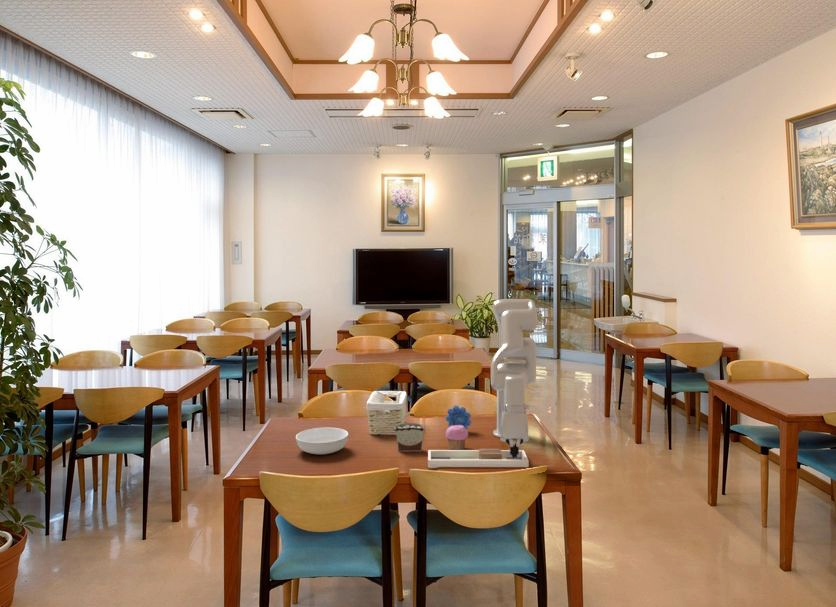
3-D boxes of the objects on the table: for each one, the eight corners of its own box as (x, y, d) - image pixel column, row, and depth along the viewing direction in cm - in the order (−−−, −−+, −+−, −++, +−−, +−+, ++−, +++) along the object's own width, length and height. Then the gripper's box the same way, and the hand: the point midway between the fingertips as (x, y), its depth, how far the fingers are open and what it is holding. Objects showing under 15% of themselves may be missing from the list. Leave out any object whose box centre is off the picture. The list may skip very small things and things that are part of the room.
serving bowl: (291, 446, 264) (291, 430, 263) (341, 441, 271) (341, 425, 271) (301, 462, 244) (300, 444, 244) (354, 455, 252) (354, 438, 251)
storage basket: (402, 436, 278) (402, 402, 276) (365, 435, 279) (365, 402, 278) (407, 421, 302) (407, 390, 300) (373, 421, 303) (373, 390, 301)
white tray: (428, 457, 249) (428, 450, 249) (523, 457, 248) (523, 450, 248) (428, 468, 237) (427, 460, 237) (528, 468, 236) (528, 460, 236)
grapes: (448, 435, 278) (448, 408, 277) (444, 431, 285) (444, 404, 284) (474, 433, 280) (474, 406, 279) (469, 429, 287) (469, 403, 286)
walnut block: (479, 458, 246) (479, 448, 245) (500, 458, 245) (500, 448, 245) (480, 464, 240) (480, 453, 239) (501, 464, 239) (501, 453, 239)
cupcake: (471, 448, 260) (471, 424, 259) (461, 454, 253) (461, 429, 252) (452, 445, 265) (451, 421, 264) (441, 450, 257) (441, 426, 256)
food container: (424, 446, 263) (424, 422, 263) (425, 451, 257) (425, 426, 256) (394, 446, 263) (394, 422, 262) (394, 451, 257) (394, 426, 256)
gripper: (533, 406, 244) (532, 453, 245) (493, 406, 244) (493, 453, 246) (536, 410, 237) (535, 459, 238) (495, 410, 237) (495, 459, 238)
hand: (514, 456), depth 242 cm, fingers closed
